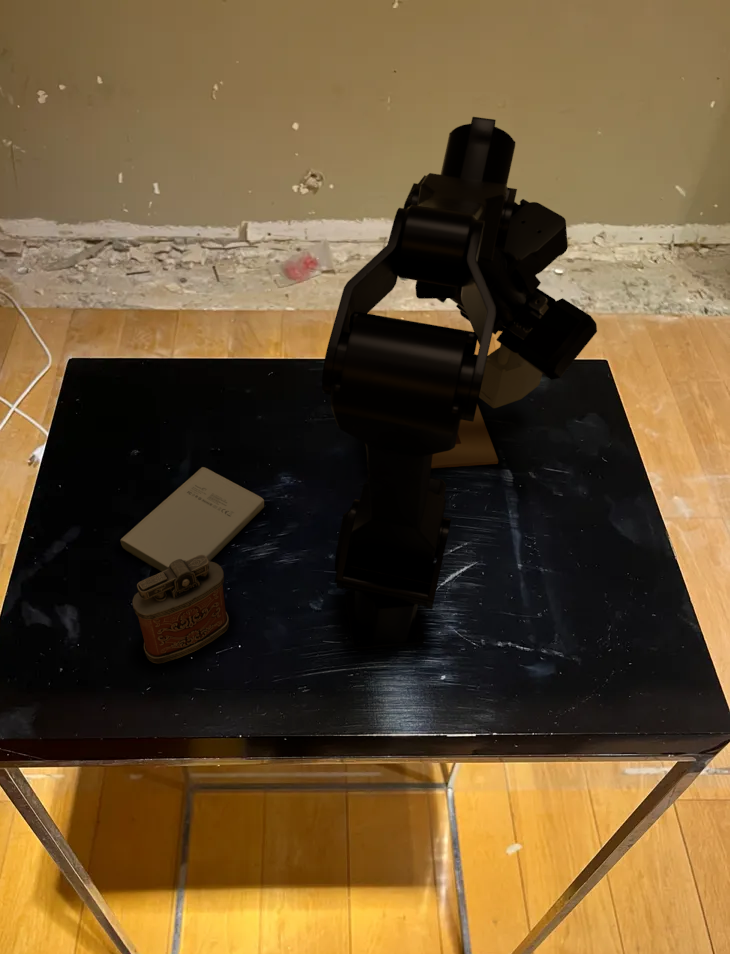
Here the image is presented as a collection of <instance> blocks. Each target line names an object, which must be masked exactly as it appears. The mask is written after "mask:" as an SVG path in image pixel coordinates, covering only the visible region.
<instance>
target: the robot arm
mask: <svg viewBox="0 0 730 954" xmlns="http://www.w3.org/2000/svg"><path fill="white" fill-rule="evenodd" d="M496 122H497V119H494V118H486V117H479V116H471V122H470V123H466V124H461V125H459V126H457V127H455V128H454V129H452V130H451V131H450V132H449V134H448V138H447V143H446V148H445V152H444V158H443V162H442V165H441V170H440V174H439V173H433V172H429V173H428V174H426V175H423V177H422V178H421V179H420V180H419V181H418V183H417V182H413V183H412V186H411V188H410V190H409V192H408V195H407V197H406V199H405V201H404V204H403V207H398V208H397V210H396V212H395V215H394V219H393V222H392V226H391V230H390V234H389V238H388V241H387V244H386V245H385V246H384V247H383V248H382V249H381V250H380V251H379V252H378V253H376V255H375V256H374V257H372V258H371V259H370V260H369V261H368V262H367V263H366V264H365V265H364V266H363V267H361V269H360V270H358V271H357V272H356V273H355V274H354V275H353V276H352V277H351V278H350V279H349V280H348V281H347V282H346V283H345V285H344V287H343V289H342V293H341V297H340V300H339V304H338V307H337V311H336V315H335V318H334V322H333V325H332V328H331V332H330V336H329V340H328V343H327V348H326V351H325V355H324V360H323V361H324V362H323V369H322V376H321V377H322V379H321V389H322V393H323V394H324V395H329V396H330V408H331V413H332V415H333V418H334V420H335V424H336V426H337V427H338V428H339V430H340V431H342V432H345V433H346V434H348V435H349V436H352V437H353V438H355V439H356V440H358V441H360V442H362V443H364V445H365V444H366V445H365V450H366V466H367V480H366V482H365V483H363V486H362V489H361V494H360V497H359V499H356V498H355V499H354V500H353V501H352V504H351V505H350V507H349V509H348V510H347V511H346V512H344V513H343V514H342V518H341V523H340V529H339V530H340V531H339V535H338V538H337V539H338V541H337V545H336V550H335V558H334V571H335V572H336V574H335V577H334V578H335V579H334V583H335V584H336V588H337V589H340V590H343V589H344V590H346V591H345V593H344V601H345V608H346V612H347V618H348V624H349V630H350V637H351V642H352V648H353V649H354V650H355V651H357V652H358V651H359V652H360V651H371V650H383V649H394V648H402V647H403V648H405V647H414V646H421V645H424V643H425V640H426V639H425V633H424V629H423V625H422V621H421V616H420V613H419V609H418V606H421V607H425V608H426V609H430V610H433V606H434V601H435V597H436V592H437V588H438V583H439V579H440V574H441V570H442V565H443V559H444V556H445V550H446V546H447V541H448V535H449V532H450V528H451V521H452V518H447V517H445V516H444V515H445V510H446V505H447V500H446V499H445V496H446V490H447V483H446V482H445V481H444V480H443V479H441V478H435V477H431V473H432V472H431V471H432V468H431V465H432V457H433V454H436V453H440V452H445V451H449V450H451V449H453V448H454V447H455V444H456V440H457V435H458V430H459V426H460V421H461V420H467V421H472V422H473V421H474V417H475V412H476V407H477V404H479V399H480V398H479V394H480V389H481V384H482V380H483V375H484V370H485V365H486V361H487V356H488V355H489V351H490V346H491V341H492V336H493V335H495V336H496V335H497V333H498V332H501V333H500V334H499V335H498V337H497V338H496V339H495V340H496V342H498V343H500V345H501V344H502V345H504V346H505V347H507V348H508V349H509V350H511V351H512V352H514V353H519V354H518V355H519V356H520V357H521V358H522V359H524V360H525V361H526V362H527V363H529V364H530V365H531V366H533V367H534V368H535V369H537V370H538V371H540V372H541V373H543V374H542V375H544V376H545V377H547V378H548V379H550V380H556V379H560V378H561V377H562V376H563V375H564V374H565V372H566V371H567V370H568V369H569V367H570V366H571V365H572V364H573V362H574V361H575V360H576V358H577V357H579V355H580V354H581V353H582V351H583V350H584V349H585V348H586V346H587V345H588V344H589V342H590V341H591V340H592V339H593V337H594V336H595V335H596V334H597V332H598V324H597V322H596V321H595V319H594V318H593V317H592V315H590V314H588V313H587V312H586V311H584V310H582V309H581V308H579V307H577V306H576V305H574V304H573V303H571V302H570V301H568V300H566V299H565V298H564V297H562V298H560V299H558V300H556V299H555V298H553V296H551V295H549V294H548V293H546V292H545V291H543V290H541V289H539V286H540V285H541V284H542V282H541V281H540V280H539V278H538V277H537V275H538V274H540V273H542V272H543V271H544V270H545V269H546V268H547V267H549V266H550V265H551V264H552V263H553V262H554V261H555V260H557V259H558V258H559V257H560V256H563V255H564V254H565V253H566V252H567V250H568V247H569V241H568V232H567V231H568V230H567V220H566V218H565V217H564V216H562V215H561V214H559V213H557V212H555V211H554V210H552V209H550V208H548V207H547V206H545V205H543V204H541V203H539V202H537V201H531V202H530V201H528V200H526V199H524V198H522V199H520V201H519V203H517V202H516V196H517V191H518V188H515V187H514V188H513V187H509V186H508V181H509V178H510V177H509V176H510V173H511V168H512V164H513V163H512V162H513V159H514V154H515V149H516V144H517V143H516V141H515V140H514V138H513V137H512V136H511V135H510V134H509V133H508V132H506V131H505V130H503V129H501V128H499V127H498V126H496ZM398 278H400V279H406V280H412V281H416V282H415V287H414V288H415V296H416V298H417V299H419V300H428V299H429V300H430V299H431V300H433V299H436V300H437V301H439V302H440V303H442V304H444V303H445V302H446V300H447V299H450V300H451V301H452V302H454V303H455V304H456V305H455V307H456V308H457V309H458V310H459V311H460V312H459V314H460V316H461V317H462V318H464V319H465V320H467V321H469V324H470V325H471V328H472V331H470V330H465V329H460V328H454V327H447V326H441V325H435V324H430V323H425V322H419V321H413V320H407V319H401V318H395V317H389V316H384V315H379V314H372V313H370V312H371V311H372V310H373V309H374V308H375V307H376V306H377V305H378V304H379V303H380V302H382V300H383V299H384V298H386V296H388V295H389V293H391V292H392V291H393V290H394V288H395V286H396V285H397V282H398ZM477 343H478V345H479V347H478V352H477V354H476V348H477ZM435 559H436V560H435ZM358 644H359V645H358Z"/></svg>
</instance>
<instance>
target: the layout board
mask: <svg viewBox="0 0 730 954" xmlns="http://www.w3.org/2000/svg"><path fill="white" fill-rule="evenodd" d="M478 404H479V403H477V407H476V412H475V417H474V421H473V422H472V421H467V420H461V421H460V426H459V430H458V435H457V440H456V444H455V447H454V448H453V449H451V450H449V451H445V452H440V453H436V454H433V457H432V465H431V469H442V468H457V467H471V466H472V467H473V466H485V465H497V464H499V458H498V455H497V453H496V450H495V447H494V445H493V442H492V439H491V437H490V434H489V431H488V429H487V426H486V424H485V420H484V418H483V415H482V412H481V410H480V407H479V405H478ZM364 445H365V446H366V444H365V443H364Z"/></svg>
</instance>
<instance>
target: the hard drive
mask: <svg viewBox="0 0 730 954" xmlns="http://www.w3.org/2000/svg"><path fill="white" fill-rule="evenodd" d="M264 508H265V500H264V498H263V497H261V496H260V495H258V494H256V493H255V492H253V491H250V490H248V489H247V488H244V487H242V486H241V485H239V484H237V483H235V482H233V481H231V480H230V479H228V478H226V477H224V476H222V475H220V474H218V473H216V472H214V471H213V470H211V469H209V468H207V467H204V466H201V467H200V468H199V469H198V470H197V471H196V472H195V473H194V474H193V475H191V476H190V477H189V478H188V479H187V480H186V481H185V482H184V483H182V484H181V485H180V486H178V488H177V489H175V490H174V491H173V492H172V493H171V494H170V495H169V496H168V497H166V498H165V499H164V500H163V501H162V502H161V503H160V504H158V505H157V506H156V507H155V508H154V509H153V510H152V511H151V512H149V513H148V514H147V515H146V516H145V517H144V518H143V519H141V521H139V522H138V523H137V524H136V525H135V526H134V527H133V528H131V530H129V531H128V532H127V533H126V534H125V535H124V536H123V537H121V539H120V545H121V548H122V549H123V550H125V552H128V553H129V554H131V555H133V556H134V557H136V558H137V559H139V560H140V561H142V562H143V563H146V564H147V565H149V566H151V567H152V568H154V569H156V570H157V571H160V572H163V571H165V570H167V568H168V567H169V565H170V564H171V563H172V562H173V561H175V560H178V559H182V560H185V561H187V560H189V559H192V558H194V557H196V556H198V555H205V556H206V557H207V559H208V561H210V562H212V560H213V559H214V558H215V557H216V556H217V555H218V554H219V553H220V552H222V550H223V549H224V548H225V547H226V546H227V545H228V544H229V543H230V542H231V541H232V540H233V539H234V538H235V537H236V536H237V535H238V534H240V532H241V531H242V530H243V529H244V528H245V527H246V526H247V525H248V524H249V523H250V522H251V521H252V520H253V519H254V518H255V517H256V516H257V515H258V514H259V513H260V512H261V511H262V510H263V509H264Z"/></svg>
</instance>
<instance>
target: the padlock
mask: <svg viewBox="0 0 730 954" xmlns="http://www.w3.org/2000/svg"><path fill="white" fill-rule="evenodd" d="M518 354H519V353H514V352H512V351H511V350H509V349H508V348H507V347H505V346H504V345H502V344H501V343H500V345H499V347H497V349H495V350H494V351H492V352H491V353H488V356H487V361H486V365H485V370H484V375H483V380H482V384H481V389H480V394H479V398H478V399H481V400H482V401H483V402H484V403H486V404H487V405H488V406H490V407H491V408H492V409H497V408H500V407H502V406H506V405H508V404H512V403H514V402H517V401H520V400H522V399H524V397H526V396H527V395H528V394H530V393H531V392H532V391H534V390H535V389H536V388H537V387H539V386H540V384H541V380H542V377H543V375H544V374H543V373H541V372H540V371H538V370H537V369H535V368H534V367H533V366H531V365H530V364H529V363H527V362H526V361H525V360H524V359H522V358H521V357H520V356H519V355H518Z"/></svg>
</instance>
